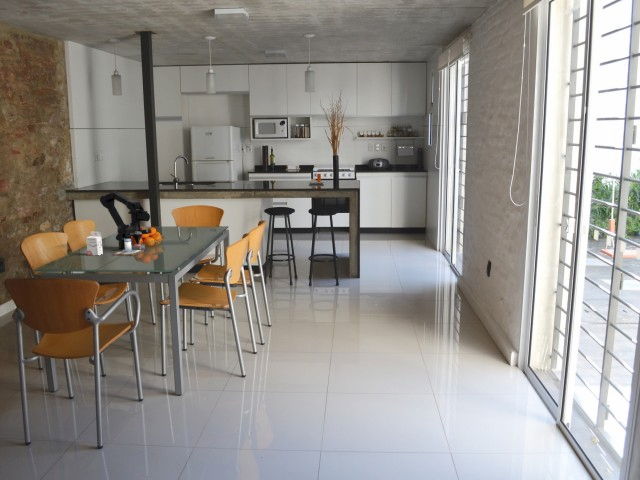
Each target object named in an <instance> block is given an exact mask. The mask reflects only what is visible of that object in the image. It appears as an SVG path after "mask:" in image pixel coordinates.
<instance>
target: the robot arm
mask: <svg viewBox="0 0 640 480" xmlns="http://www.w3.org/2000/svg"><path fill="white" fill-rule="evenodd" d="M115 200H116V201H117V202H119V203H121V204H122V205H124V206H126V208H127V209H128V210H129V211H128V215H130V222H129V224H125V222H124V221H123V219H122V216H121V214H120V213H119V211H118V209H117V208H116V206H115V204H116V203H115ZM99 201H100V204H101V205H102V207H103V208H106V209H107V211H108V213H109V214H110V216H111V218H112V220H113V221H114V223H115V225H116V227H117V230H116V231H117V235H116V236H115V240H116V241H118V247H117V249H118V250H125V242H124V239H131V240H132V237H133V240H134V241H135V244H139V243H140V241H141V239H142V237H143V235H149V234H152V233H153V232H152V230H151V228H143V227H142V225H141V224H142V222H149V221H150V219H151V215H150V213H149V212H148V210H145V209H144V207H143V205H141V202H140V201H137V200H135V199H130V198H128V197H127V196H125V195H124V194H121V193H119V192H118V191H111V192H110V193H108V194H106V195H101V196H100V198H99Z"/></svg>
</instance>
